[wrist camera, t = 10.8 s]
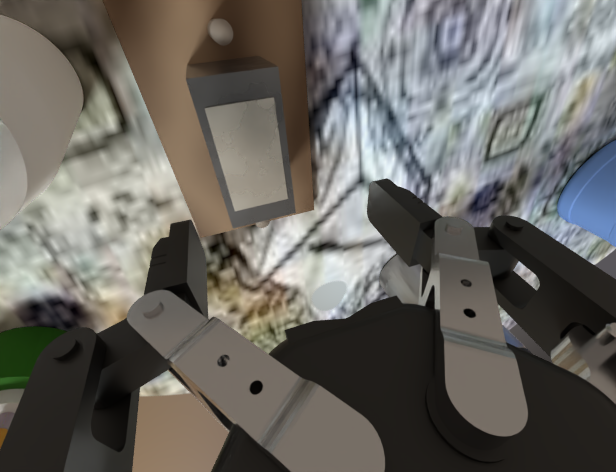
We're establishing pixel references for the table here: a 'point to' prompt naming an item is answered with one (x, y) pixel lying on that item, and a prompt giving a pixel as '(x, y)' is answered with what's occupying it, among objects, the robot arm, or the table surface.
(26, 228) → the table surface
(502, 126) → the table surface
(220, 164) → the block
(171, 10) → the tray
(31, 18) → the table surface
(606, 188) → the water jug
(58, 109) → the cup
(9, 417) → the candle
